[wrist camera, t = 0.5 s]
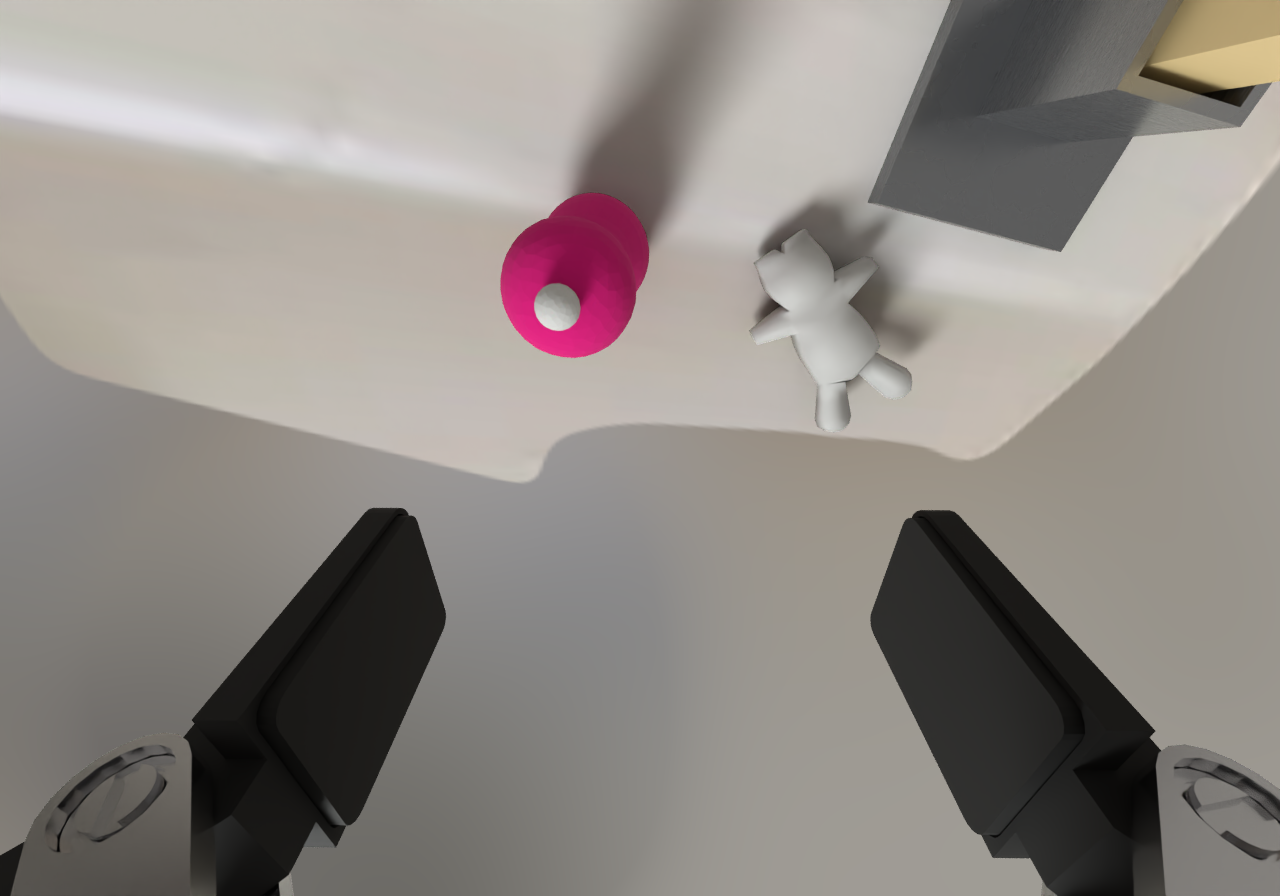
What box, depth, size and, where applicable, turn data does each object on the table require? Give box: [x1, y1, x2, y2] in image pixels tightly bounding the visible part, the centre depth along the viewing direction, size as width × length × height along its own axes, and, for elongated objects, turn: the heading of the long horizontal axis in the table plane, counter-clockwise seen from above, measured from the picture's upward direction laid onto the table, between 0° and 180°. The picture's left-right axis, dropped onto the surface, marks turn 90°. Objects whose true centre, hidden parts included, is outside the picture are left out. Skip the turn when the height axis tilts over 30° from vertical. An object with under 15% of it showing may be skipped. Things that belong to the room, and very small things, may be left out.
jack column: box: [1139, 0, 1280, 94], centre depth 20 cm, size 4×4×17 cm
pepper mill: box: [501, 193, 649, 358], centre depth 26 cm, size 7×7×20 cm
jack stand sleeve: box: [868, 0, 1272, 252], centre depth 24 cm, size 18×14×12 cm
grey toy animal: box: [749, 229, 912, 432], centre depth 35 cm, size 10×5×15 cm
